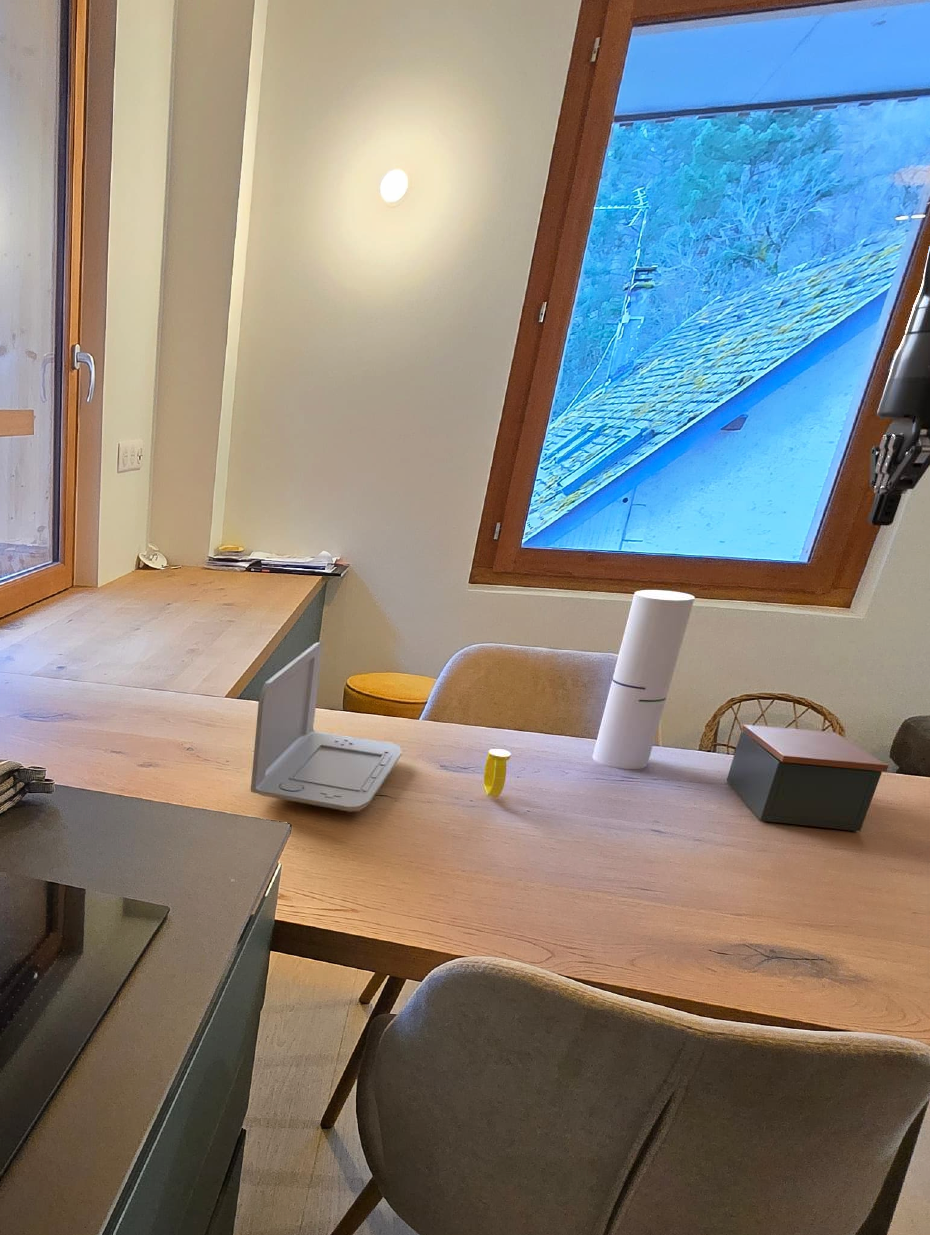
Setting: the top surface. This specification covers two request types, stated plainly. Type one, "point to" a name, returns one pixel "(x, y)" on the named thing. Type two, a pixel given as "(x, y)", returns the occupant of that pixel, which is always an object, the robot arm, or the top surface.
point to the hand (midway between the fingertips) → (878, 524)
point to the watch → (495, 771)
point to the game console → (312, 746)
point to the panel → (813, 748)
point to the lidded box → (800, 789)
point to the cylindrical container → (642, 677)
